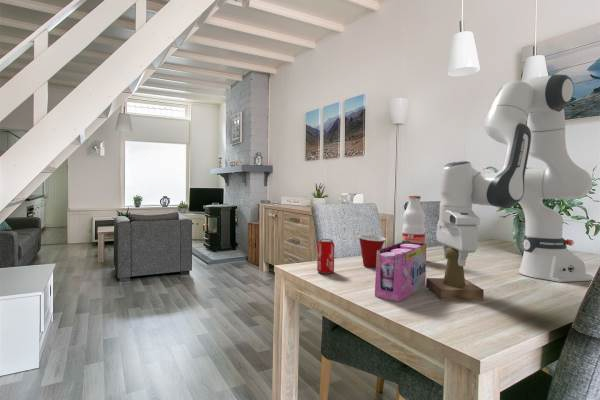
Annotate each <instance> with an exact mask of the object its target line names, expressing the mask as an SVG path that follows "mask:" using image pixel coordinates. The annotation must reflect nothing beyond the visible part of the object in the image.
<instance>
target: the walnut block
mask: <svg viewBox="0 0 600 400" xmlns="http://www.w3.org/2000/svg"><path fill="white" fill-rule="evenodd" d="M443 282H444V277H426V284H425V288H426V289H427V288H428V289H427V290H428V291H430V292H431V293H432V294H433V295H435V297H437V298H438V299H439V300H441V301H484V289H482V287H480V286H478V285H476V284H474V283H473V282H471V281H469V280H468V279H466V278H465V286H464V287H452V286H448V285H445V284H444V283H443Z"/></svg>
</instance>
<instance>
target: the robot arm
mask: <svg viewBox="0 0 600 400" xmlns="http://www.w3.org/2000/svg"><path fill="white" fill-rule="evenodd" d="M574 90H575V89H574V82H573V80H572V79H571V77H570V76H568V75H567V74H558V73H557V74H552V75H545V76H544V75H543V76H536V77H535V76H534V77H531V78H527V79H524V80H512V81H509V82H506V83H505V84H504V85H503V86H501V87H500V88H499V90H498V91H497V93H496V95H495V97H494V100H493V101H492V103H491V106H490V108H489V110H488V112H487V114H486V117H485V120H484V129H485V130H484V131H485V132H486V134H487V135H488V136H489V137H490V138H491V139H492V140H494V141H496V142H498V143H500V144H502V145H503V144H504V145H506V146H507V149H506V153H505V157H504V163H503V167H502V168H501V170H499V171H497V172H490V173H489V172H486V173H485V172H481V171H478V170H477V169H475V168H474V167H473V166H472V164H471V162H470V161H465V160H461V161H454V162H449V163H447V164H445V165H443V168H442V169H441V174H440V175H441V176H440V181H439V182H440V184H439V185H440V186H439V192H440V196H441V197H440V198H441V199H440V201H439V214H438V215H439V220H438V221H437V227H436V241H437V242H438V243H441V247H442V251H443V258H445V260H447V259H448V258H447V256H446V250H447V248H450V247H452V248H454V249H457V250H459V258H458V259H457V264H458V265H459V266H463V267H465V266H466V261H467V258H468V256H469V253H470V254H473V253H475V252H476V251H477V249H478V245H479V244H478V243H479V228H478V226H479V225H480V224H481V222H480V221H481V218H480V217H479V216H478V215H477V214H476V213H475V212H474V210H473V205H479V206H489V207H490V206H491V207H496V208H501V209H502V208H503V209H510V208H513V207H515V206H517V204H519V205H520V207H521V209H522V212H523V214H524V225H525V227H524V229H525V230H524V232H525V233H524V235H523V240H522V241H523V243H522V244H523V245H522V246H523V254H522V260H521V264H520V267H519V269H518V273H519V274H521V275H524V276H526V277H531V278H535V279H540V280H547V281H552V282H558V283H563V282H564V283H566V282H588V281H593V280H592V279H593V277H594V276H592V274H588V273H587V268H586V265H585V261H584V260H583V259H582V258H580V257H578V256H577V255H576V254H574V253H573V252H572V251H571V250H569V249H568V247H567V246H573V245H574V244H575V241H573V240H572V239H567V238H566V239H565V238H563V226H564V225H563V224H564V219H563V216H562V214H561V213H560V212H558V211H556V210H554V209H552V208H550V207H548V206H547V205H545V204H544V202H543V200H546V199H548V200H549V199H550V200H551V199H553V200H573V199H579V198H580V199H581V198H583V197H586V195H588V194H589V193H590V191H591V189H592V186H593V179H592V176H591V175H590V174H589V173H588V171H586V169H583V168H582V167H580V166H579V165H577V164H576V163H575V162H574V161H573V160H572V158H571V157H570V155H569V153H568V150H567V144H566V116H565V109H564V108H565V107H567V105H568V104H569V103H570V102H571V101H572V99H573V96H574ZM529 156H530V157H532V158H534V159H537V160H540V161H542V162H544V163H545V164H546V167H544V168H542V167H541V168H527V165H528V160H529V159H528V158H529Z"/></svg>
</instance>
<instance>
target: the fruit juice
mask: <svg viewBox="0 0 600 400" xmlns="http://www.w3.org/2000/svg"><path fill="white" fill-rule="evenodd" d="M408 200H409V201H408V204H407V206H406V207H405V208H406V209H405V210H404V213H403V214H402V219H403V225H402V230H401V232H402V235H401V242H415V243H424V244H426V225H425V220H426V213H425V212H424V209H423V208H422V204H421V195H408Z"/></svg>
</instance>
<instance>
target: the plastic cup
mask: <svg viewBox="0 0 600 400" xmlns="http://www.w3.org/2000/svg"><path fill="white" fill-rule="evenodd" d="M357 237H358V240H359V244H360V252H361V259H362V264H363V267H366V268H370V267H373V269H376V258H377V250H380V249H383V246H384V244H385V241H386V239H387V238H385V237H383V236H378V235H373V234H359V235H357Z"/></svg>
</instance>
